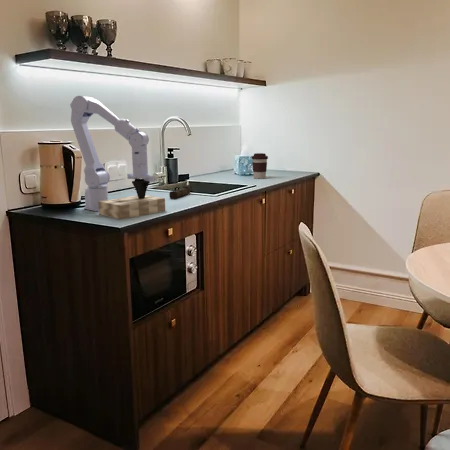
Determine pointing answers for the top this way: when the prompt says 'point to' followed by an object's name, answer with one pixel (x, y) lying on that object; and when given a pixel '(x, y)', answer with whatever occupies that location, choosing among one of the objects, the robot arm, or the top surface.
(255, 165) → the coffee cup
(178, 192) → the hand tool
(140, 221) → the top surface
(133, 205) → the twin-bore block
